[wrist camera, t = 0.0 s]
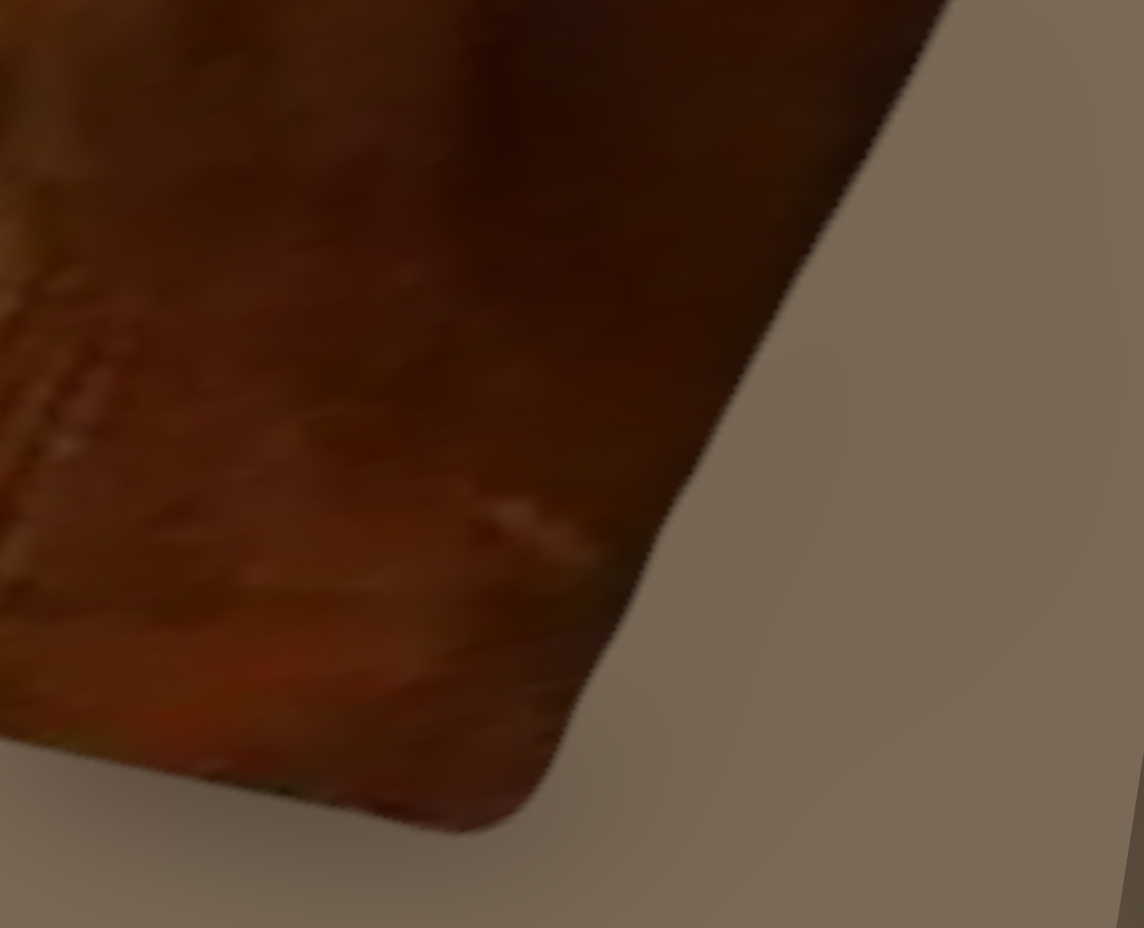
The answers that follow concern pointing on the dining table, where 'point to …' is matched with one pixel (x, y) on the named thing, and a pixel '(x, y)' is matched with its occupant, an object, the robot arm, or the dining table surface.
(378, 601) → the dining table surface
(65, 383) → the dining table surface
